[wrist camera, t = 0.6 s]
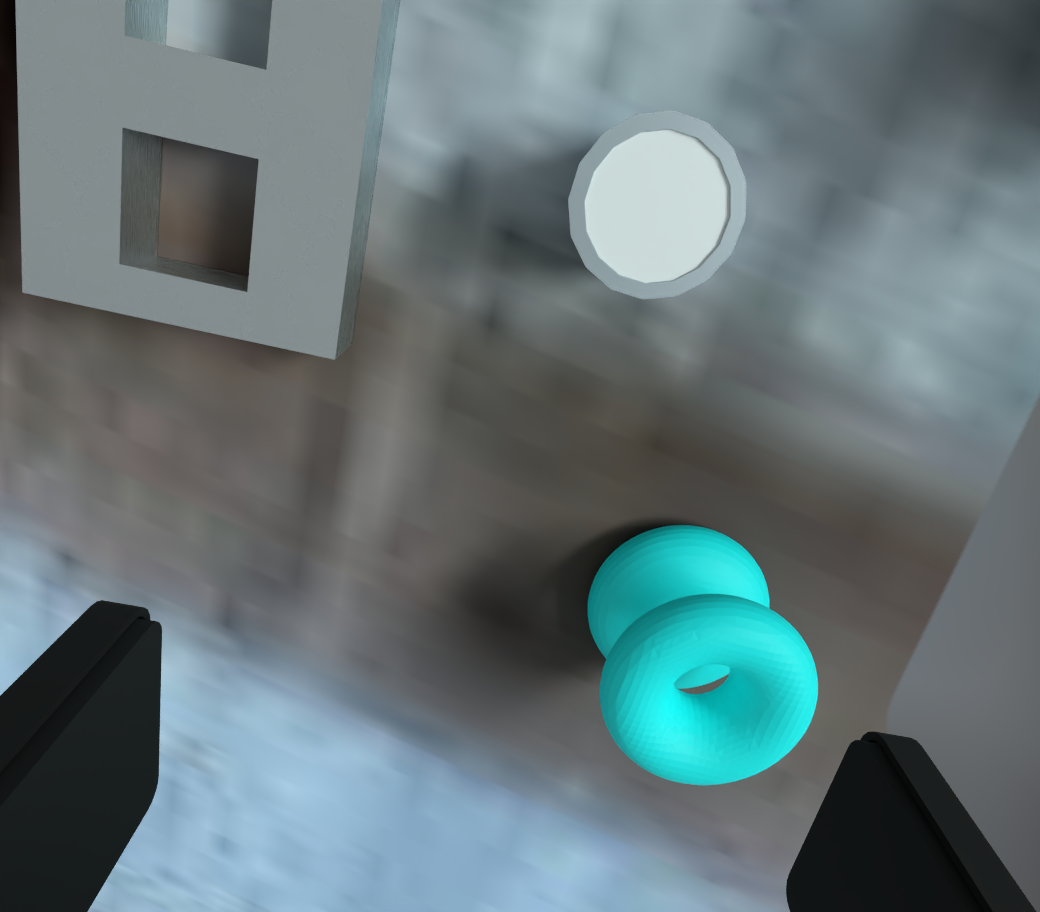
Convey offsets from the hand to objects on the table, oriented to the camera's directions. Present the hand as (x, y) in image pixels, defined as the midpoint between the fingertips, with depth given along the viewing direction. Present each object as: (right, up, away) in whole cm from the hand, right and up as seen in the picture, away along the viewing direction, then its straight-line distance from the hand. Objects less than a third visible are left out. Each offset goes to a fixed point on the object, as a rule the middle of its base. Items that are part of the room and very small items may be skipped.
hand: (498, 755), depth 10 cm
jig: (-13, +20, +23) cm, 33 cm away
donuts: (+9, -4, +32) cm, 34 cm away
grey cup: (+6, +16, +25) cm, 30 cm away
